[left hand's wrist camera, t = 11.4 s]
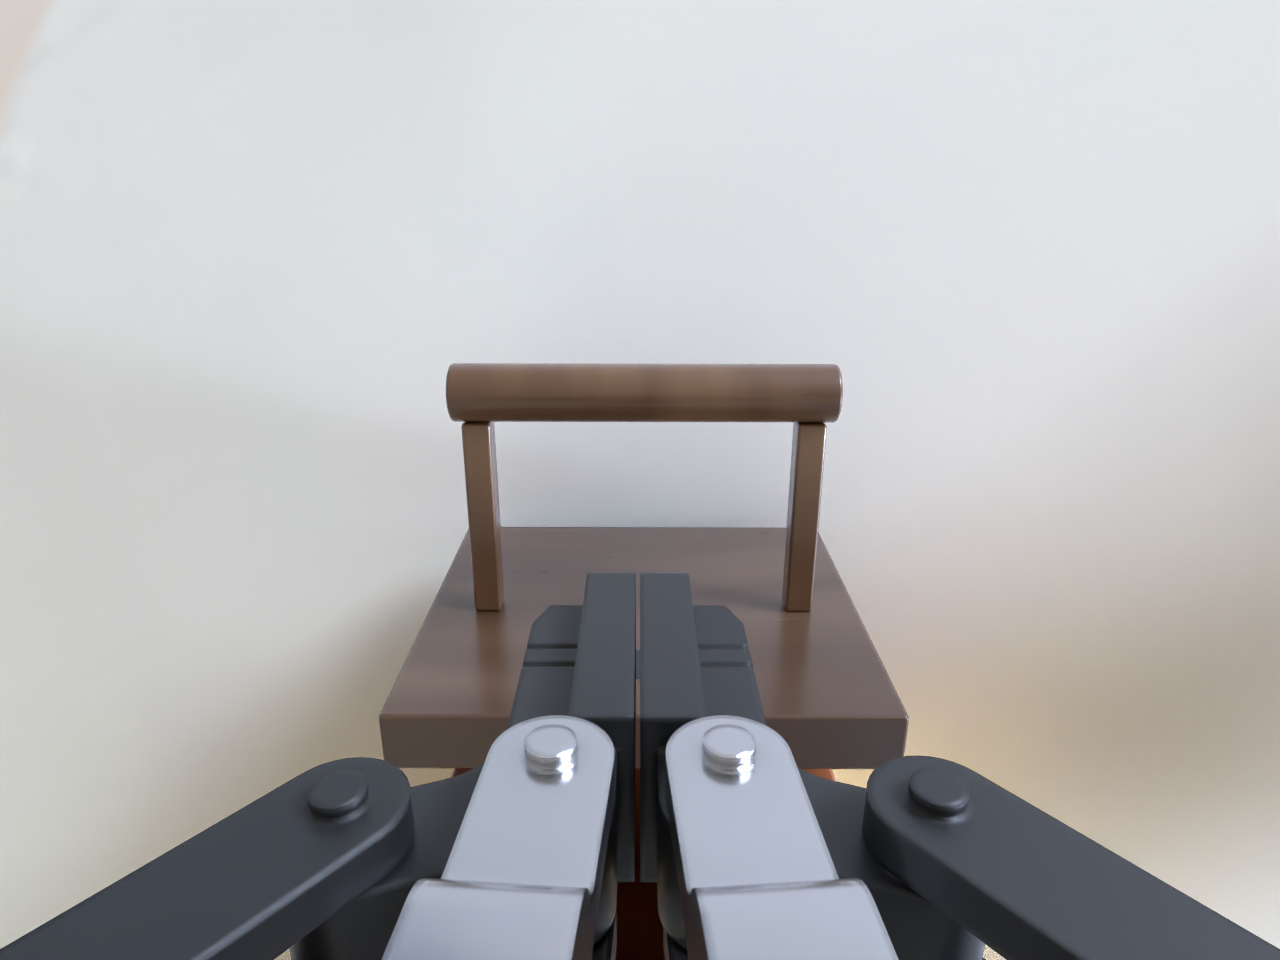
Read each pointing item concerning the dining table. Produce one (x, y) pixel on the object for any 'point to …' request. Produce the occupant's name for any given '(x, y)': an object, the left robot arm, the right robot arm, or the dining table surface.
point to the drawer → (714, 558)
